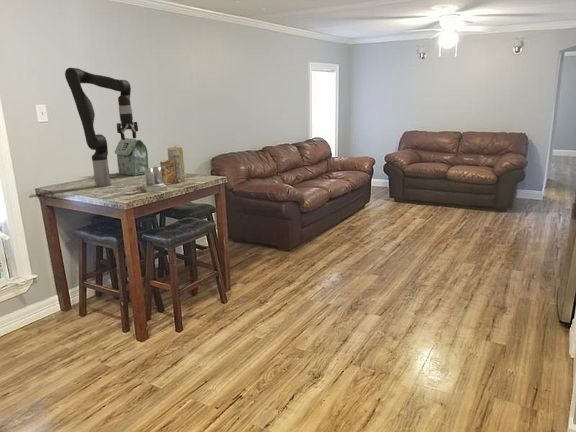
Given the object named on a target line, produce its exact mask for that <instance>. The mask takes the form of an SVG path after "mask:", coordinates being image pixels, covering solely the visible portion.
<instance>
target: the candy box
mask: <svg viewBox="0 0 576 432" xmlns="http://www.w3.org/2000/svg"><path fill="white" fill-rule="evenodd" d="M159 164H160V165H159V167H161V177H162V183H164V184H165V185H166V186H167V185H172V184H176V183H178V182H176V172H175V163H174V160H168V159H167V160H163V161H159Z"/></svg>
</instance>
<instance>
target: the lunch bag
mask: <svg viewBox="0 0 576 432" xmlns="http://www.w3.org/2000/svg"><path fill="white" fill-rule="evenodd" d="M114 154H115V155H116V159H117V168H118V169H117V170H118V174H120V175H127V176H138V175H143V174H144V175H145V173H144V170H145V169H148V168H149V155H148V148H147V146H146V145H145V143H144V142H143V141H142V139H137V138H127V137H125V140H122V139H121V138H120V139H119V141H118V143H117V145H116V148H115V150H114Z"/></svg>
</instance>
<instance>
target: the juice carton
mask: <svg viewBox="0 0 576 432" xmlns="http://www.w3.org/2000/svg"><path fill="white" fill-rule="evenodd" d="M167 156H168V157H167V160H174V163H175V172H176V182H177V183H182V182H185V181H186V168H185V157H184V156H185V155H184V148H183V147H182V146H181V147H180V146H179V145H174V146H171V147H167Z"/></svg>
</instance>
